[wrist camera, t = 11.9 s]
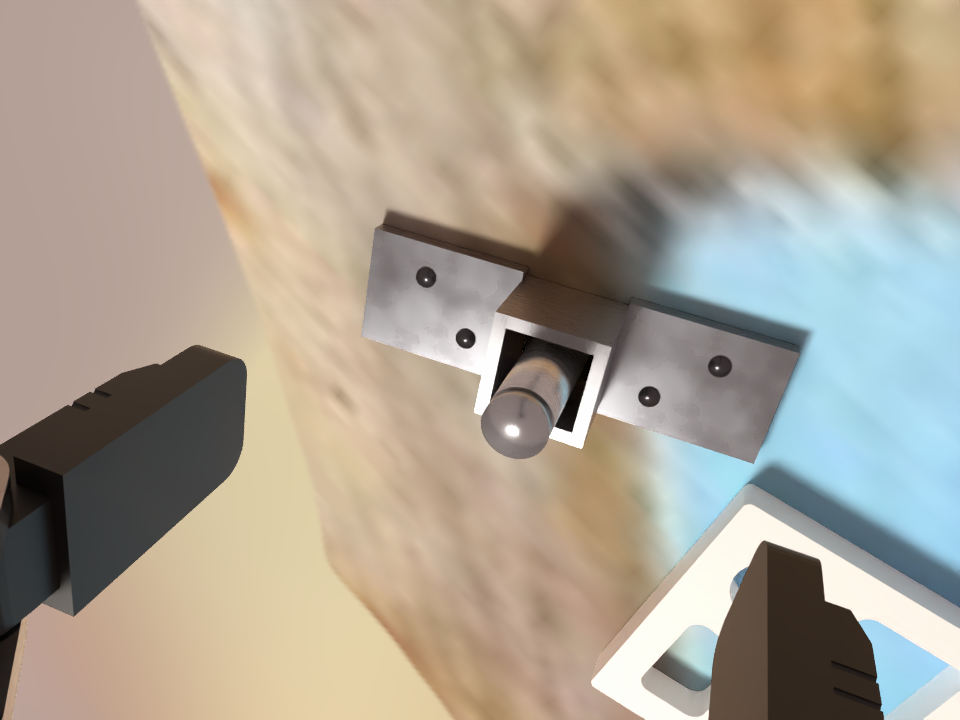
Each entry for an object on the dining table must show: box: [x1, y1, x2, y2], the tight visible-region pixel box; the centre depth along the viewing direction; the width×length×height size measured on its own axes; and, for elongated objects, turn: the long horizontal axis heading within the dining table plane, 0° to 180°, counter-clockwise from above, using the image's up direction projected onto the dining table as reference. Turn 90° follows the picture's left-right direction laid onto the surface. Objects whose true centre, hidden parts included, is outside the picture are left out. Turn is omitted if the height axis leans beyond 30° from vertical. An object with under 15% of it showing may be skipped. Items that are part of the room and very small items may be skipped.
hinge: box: [361, 224, 800, 464], centre depth 43 cm, size 7×24×6 cm, turn 79°
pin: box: [481, 337, 590, 459], centre depth 41 cm, size 3×3×11 cm
